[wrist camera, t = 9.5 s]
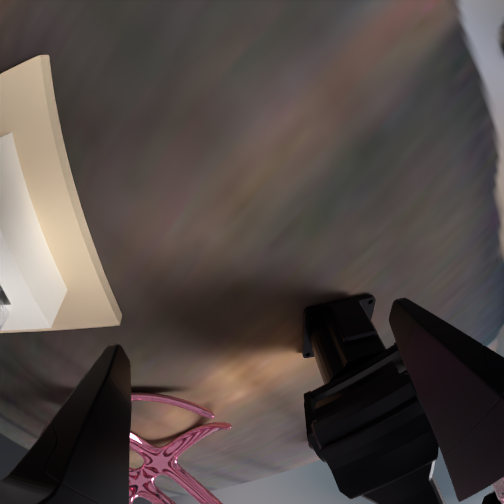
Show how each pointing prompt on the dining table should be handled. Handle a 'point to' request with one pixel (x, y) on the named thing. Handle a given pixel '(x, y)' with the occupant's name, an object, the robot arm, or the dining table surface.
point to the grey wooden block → (2, 312)
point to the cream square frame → (44, 216)
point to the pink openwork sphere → (168, 456)
